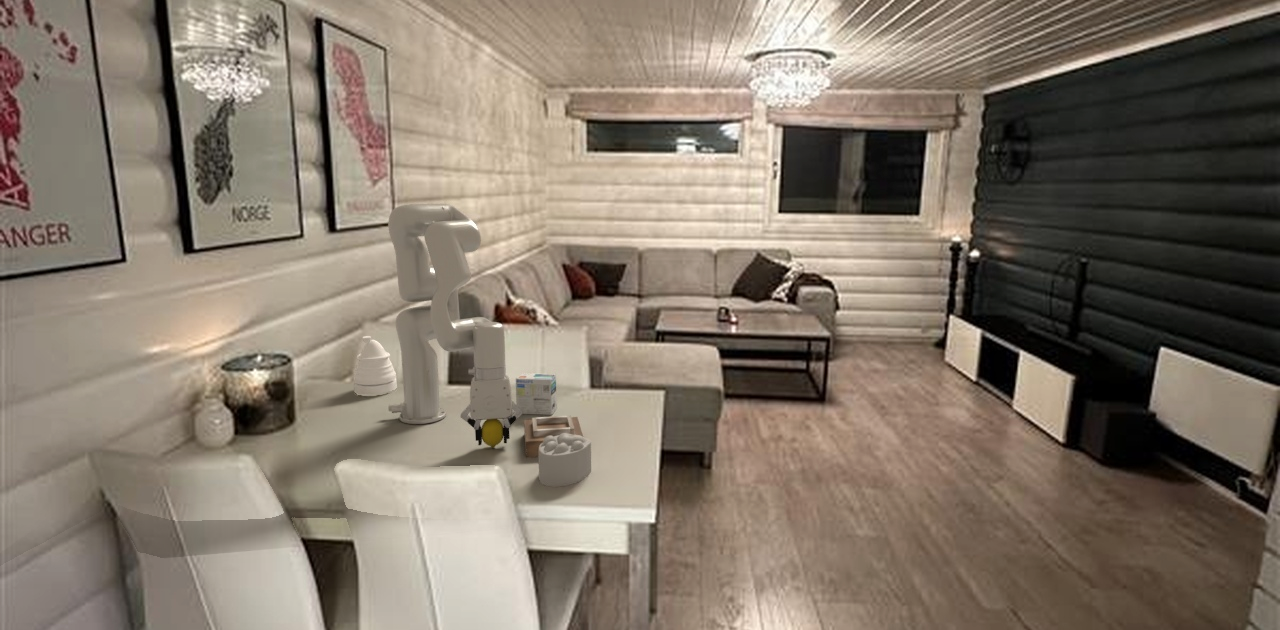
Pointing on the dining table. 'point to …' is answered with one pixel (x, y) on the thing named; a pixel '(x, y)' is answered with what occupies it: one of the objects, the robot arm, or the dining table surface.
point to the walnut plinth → (547, 430)
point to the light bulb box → (536, 393)
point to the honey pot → (374, 369)
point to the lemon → (492, 432)
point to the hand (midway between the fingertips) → (492, 441)
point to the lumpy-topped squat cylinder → (564, 459)
